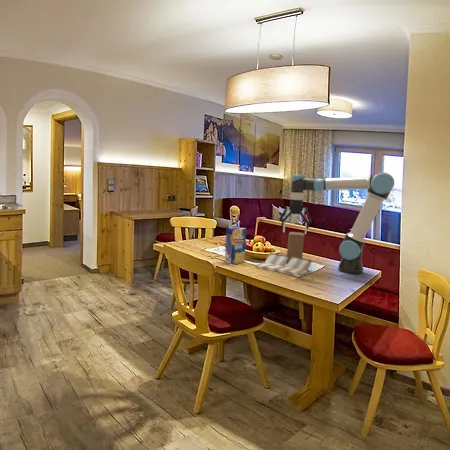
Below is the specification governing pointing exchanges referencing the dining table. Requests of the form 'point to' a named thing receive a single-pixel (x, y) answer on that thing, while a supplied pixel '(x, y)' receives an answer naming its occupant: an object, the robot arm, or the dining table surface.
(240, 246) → the blue food box
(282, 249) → the dining table surface
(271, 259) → the grey ridged flat piece
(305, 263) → the grey wavy slab
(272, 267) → the grey ridged flat tray
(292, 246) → the wooden block
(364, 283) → the dining table surface
